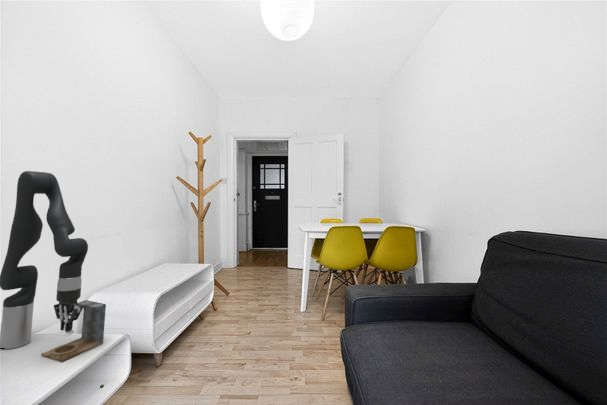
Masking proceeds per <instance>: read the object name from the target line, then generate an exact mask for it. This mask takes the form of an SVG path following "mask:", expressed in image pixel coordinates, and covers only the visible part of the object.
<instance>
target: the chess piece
mask: <svg viewBox="0 0 607 405" xmlns="http://www.w3.org/2000/svg"><path fill="white" fill-rule="evenodd" d="M69 314H70V313H69ZM64 317H65V316H64ZM64 322H65V324H66V317H65V320H64ZM74 333H75V332H74V330H73V329H72V330H71V331H68V332H66V331H65V326H64V330H63V331H62V330H61V331H60V332H58V334H57V337H58V338H64V337H68V336H71V335H73V334H74Z"/></svg>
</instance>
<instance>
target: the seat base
mask: <svg viewBox="0 0 607 405" xmlns="http://www.w3.org/2000/svg"><path fill="white" fill-rule="evenodd" d="M77 303H78V305H77V306H78V307H79V308H80V307H82V312H83V313H82V314H83V315H82V325H81V326H82V327H81V337H80V338H77V339H75V340H71V341H70V342H67V343H65V344H61V345H59V346H56V347H54V348H52V349H50V350H48V351H45V352H42V353H41V356H40V357H42V358H46V359H49V360H53V361H55V362H58V363H64V362H66V361H69V360H71V359H73V358H75V357H77V356H79V355H82V354H84V353H86V352H89V351H91V350H93V349H96V348H97V347H99V346H102V345H103V344H104V338H105V337H104V335H105V321H106V309H107V308H106V307H107V305H106V303H102V302H96V301H93V300H82V301H78V302H77Z"/></svg>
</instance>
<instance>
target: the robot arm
mask: <svg viewBox="0 0 607 405" xmlns="http://www.w3.org/2000/svg"><path fill="white" fill-rule="evenodd" d="M37 194H38V195H40V194H41V195H43V194H44V195H45V196H46V197H47V200H48V203H49V204H48V205H49V206H48V208H47V212H46V222H47V225H48V227H49V229H50V232H51V233H52V236H53V238H52V239H53V247H54V252H55V253H56V254H57V255H58V256H60V257H62V258H68V257H69V258H68V260H66V261H64V262H61V263H60V265H59V269H58V270H59V272H58V280H57V284H56V285H57V287H56V299H55V300H56V301H57V302H58V303H56V304H53V309H54V312H55V317H56V319H57V320H58V319H59V322H60V329H59V330H60V331H61V332H62V331H63V330H64V326H65V331H66V332H68V331H71V330H73V327H74V326H73V325H74V324H73V323H74V321H77V320H78V319H79V317H80V315H81V313H82V312H83V308H82V307H80V308H79V307H78V306H77V305H78V303H79V302H78V300H79V299H80V298H81V295H82V294H81V293H82V292H81V291H82V268H83V264H84V262H85V259H86V258H87V257H86V256H87V254H88V251H89V243H88V241H87V240H86V239H84V238H81V237H76V238H69V236H71V235H72V234H73V233H75V230H76V229H75V226H74V224H73V222H72V220H71V217H70V216H69V214H68V212H67V209H66V206H65V202H64V198H63V195H62V191H61V188H60V185H59V181H58V179H57V177H56V176H55V175H54V174H53V173H51V172H44V171H32V170H26V171H23V172H21V173H20V175H19V177H18V180H17V184H16V200H15V208H14V214H13V220H12V224H11V227H10V228H11V229H10V233H9V240H8V246H7V251H6V255H5V259H4V261H3V264H2V269H1V272H0V289H1V290H3V291H12V290H17V289H20V290H18V291H16V293H14V294H12V295H10V296H7V297H6V298H4V299H3V303H2V315H1V324H0V348H5V349H4V350H11V349H16V348H20V347H24V346H26V345H28V344H29V343H31V340H32V331H33V317H34V303H35V302H34V301H35V297H36V293H37V292H36V291H37V285H38V277H39V272H38V269H37V267H36V266H35V265H30V264H29V265H23V266H19V264H20V262H21V260H22V259H23V257H24V256H25V255H26V254H27V253H28V252H29V251H30V250H32V248H33V247H35V245H36V244H38V243H39V241H40V239H41V237H42V236H41V235H42V233H43V232H42V231H43V226H44V224H43V220H42V218H41V217H40V215H39V213H38V212H37V210H36V209H35V205H34V197H35V195H37ZM69 313H70V314H69ZM64 316H65V317H66V324H65V322H64V320H65V317H64Z"/></svg>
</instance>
